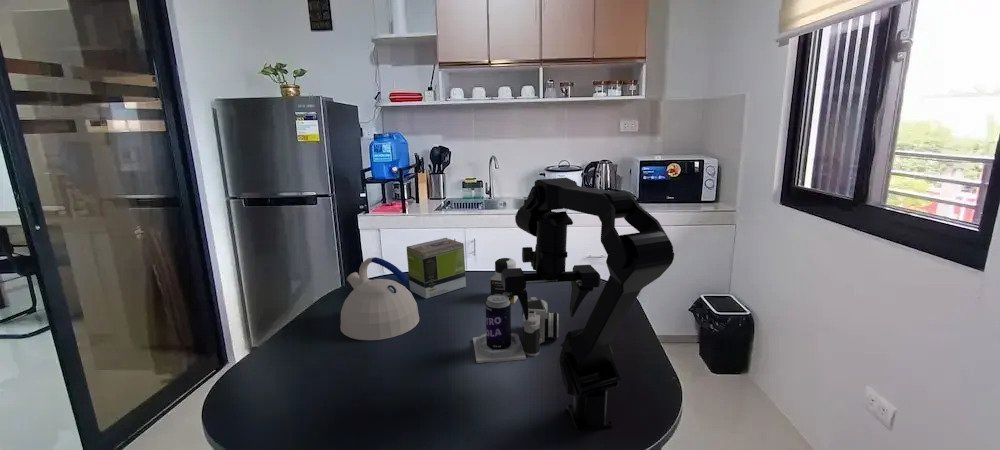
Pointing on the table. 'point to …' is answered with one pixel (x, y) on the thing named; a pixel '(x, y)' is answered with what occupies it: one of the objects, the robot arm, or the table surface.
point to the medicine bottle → (496, 279)
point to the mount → (488, 355)
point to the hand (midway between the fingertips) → (549, 317)
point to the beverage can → (498, 322)
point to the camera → (538, 326)
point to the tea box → (436, 267)
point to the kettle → (378, 305)
